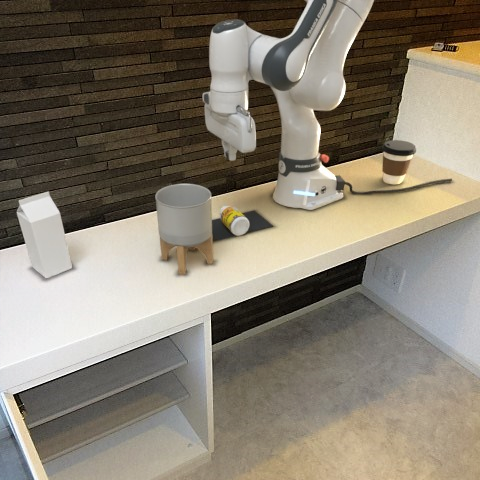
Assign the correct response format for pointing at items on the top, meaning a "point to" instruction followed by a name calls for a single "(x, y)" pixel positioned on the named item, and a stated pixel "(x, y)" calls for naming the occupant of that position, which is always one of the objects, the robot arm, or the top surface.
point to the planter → (185, 221)
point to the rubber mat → (254, 225)
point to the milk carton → (44, 235)
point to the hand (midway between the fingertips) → (230, 158)
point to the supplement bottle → (234, 220)
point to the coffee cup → (396, 160)
